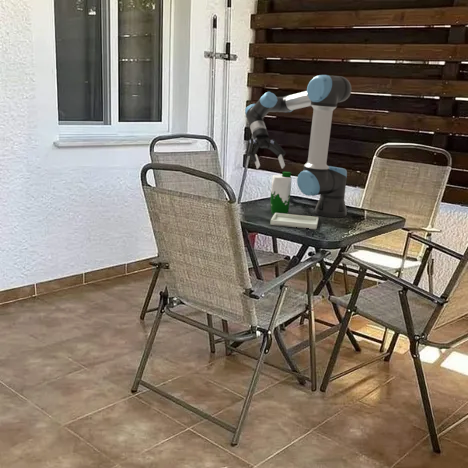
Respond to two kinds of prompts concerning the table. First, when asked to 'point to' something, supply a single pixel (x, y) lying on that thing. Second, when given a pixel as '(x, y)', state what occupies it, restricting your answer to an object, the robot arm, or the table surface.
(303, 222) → the tray
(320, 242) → the table surface
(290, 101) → the robot arm
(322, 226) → the table surface
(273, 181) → the soya milk
